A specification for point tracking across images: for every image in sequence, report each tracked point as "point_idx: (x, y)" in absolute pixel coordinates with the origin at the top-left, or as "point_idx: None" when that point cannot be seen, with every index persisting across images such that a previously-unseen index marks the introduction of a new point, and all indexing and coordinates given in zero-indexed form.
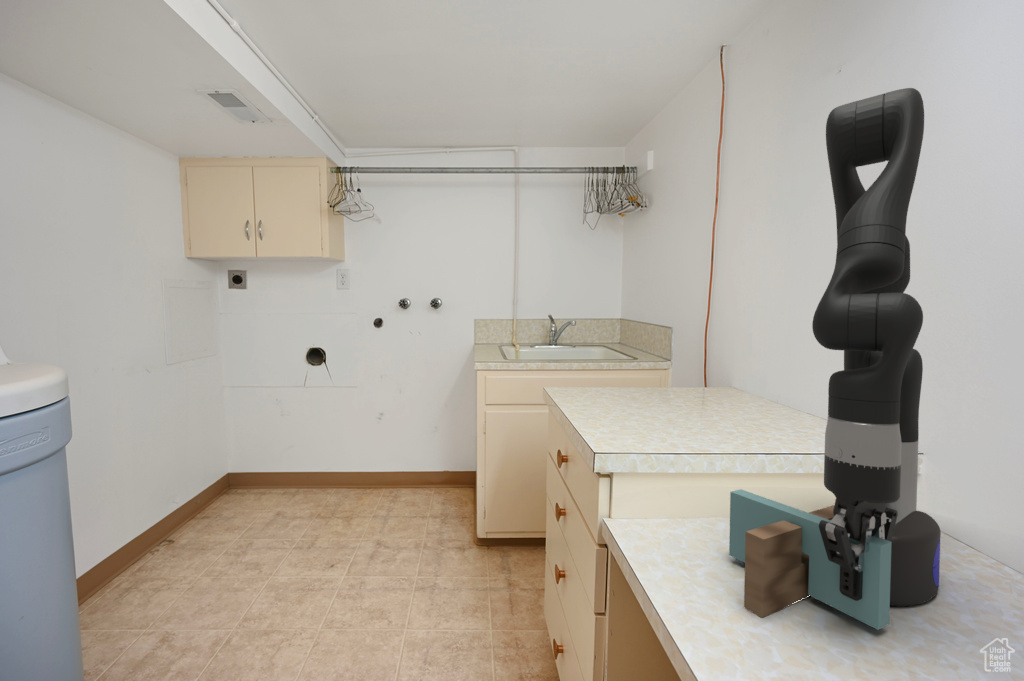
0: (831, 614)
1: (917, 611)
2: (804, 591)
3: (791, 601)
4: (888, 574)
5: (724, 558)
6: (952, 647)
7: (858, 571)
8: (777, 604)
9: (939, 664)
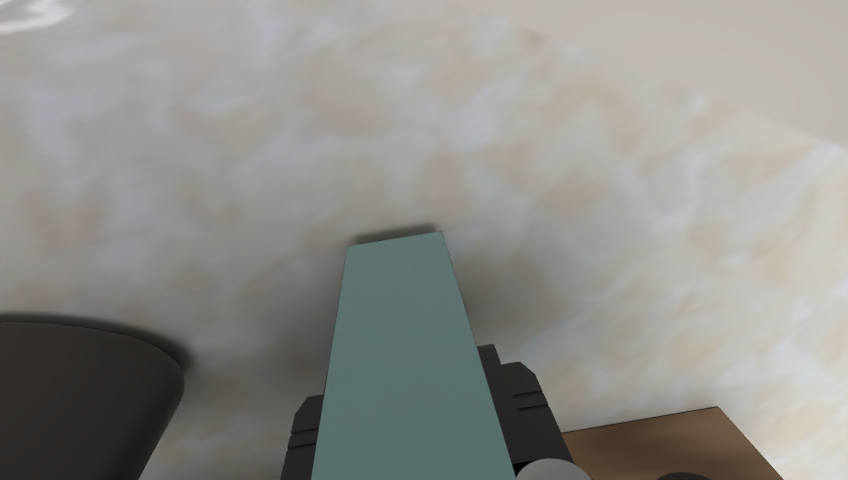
0: None
1: (65, 292)
2: None
3: None
4: (352, 400)
5: None
6: (174, 78)
7: (569, 463)
8: (645, 440)
9: (364, 22)
